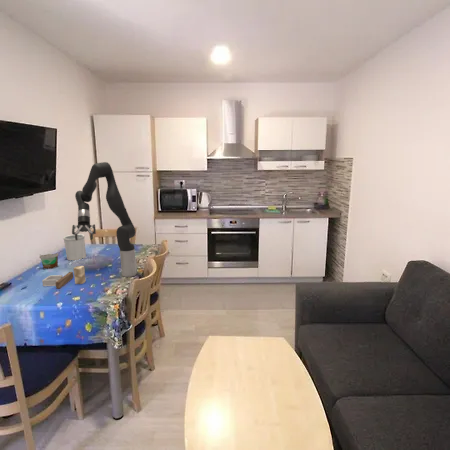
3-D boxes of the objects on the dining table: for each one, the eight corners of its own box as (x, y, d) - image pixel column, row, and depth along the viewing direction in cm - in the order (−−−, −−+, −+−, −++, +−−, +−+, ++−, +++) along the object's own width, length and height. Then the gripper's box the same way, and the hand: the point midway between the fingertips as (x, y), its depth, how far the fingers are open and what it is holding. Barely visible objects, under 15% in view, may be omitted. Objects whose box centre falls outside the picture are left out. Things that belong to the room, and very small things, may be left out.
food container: (38, 270, 223) (36, 256, 221) (41, 267, 229) (39, 254, 227) (58, 268, 226) (56, 254, 224) (60, 265, 232) (58, 252, 230)
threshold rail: (73, 277, 207) (72, 271, 206) (59, 288, 190) (58, 282, 189) (70, 277, 207) (69, 271, 206) (56, 288, 190) (55, 282, 189)
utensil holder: (81, 260, 243) (79, 238, 239) (62, 261, 243) (59, 238, 240) (90, 255, 257) (87, 234, 254) (71, 255, 258) (69, 234, 254)
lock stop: (85, 281, 201) (83, 266, 199) (82, 283, 196) (80, 268, 194) (78, 281, 201) (76, 266, 199) (75, 284, 196) (73, 268, 194)
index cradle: (63, 280, 203) (62, 275, 202) (56, 285, 194) (55, 280, 194) (50, 280, 203) (49, 275, 202) (43, 286, 194) (42, 280, 193)
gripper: (71, 215, 209) (71, 237, 202) (95, 214, 214) (95, 237, 207) (72, 220, 215) (72, 242, 209) (95, 219, 220) (95, 241, 214)
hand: (84, 239), depth 208 cm, fingers open, 8 cm apart
